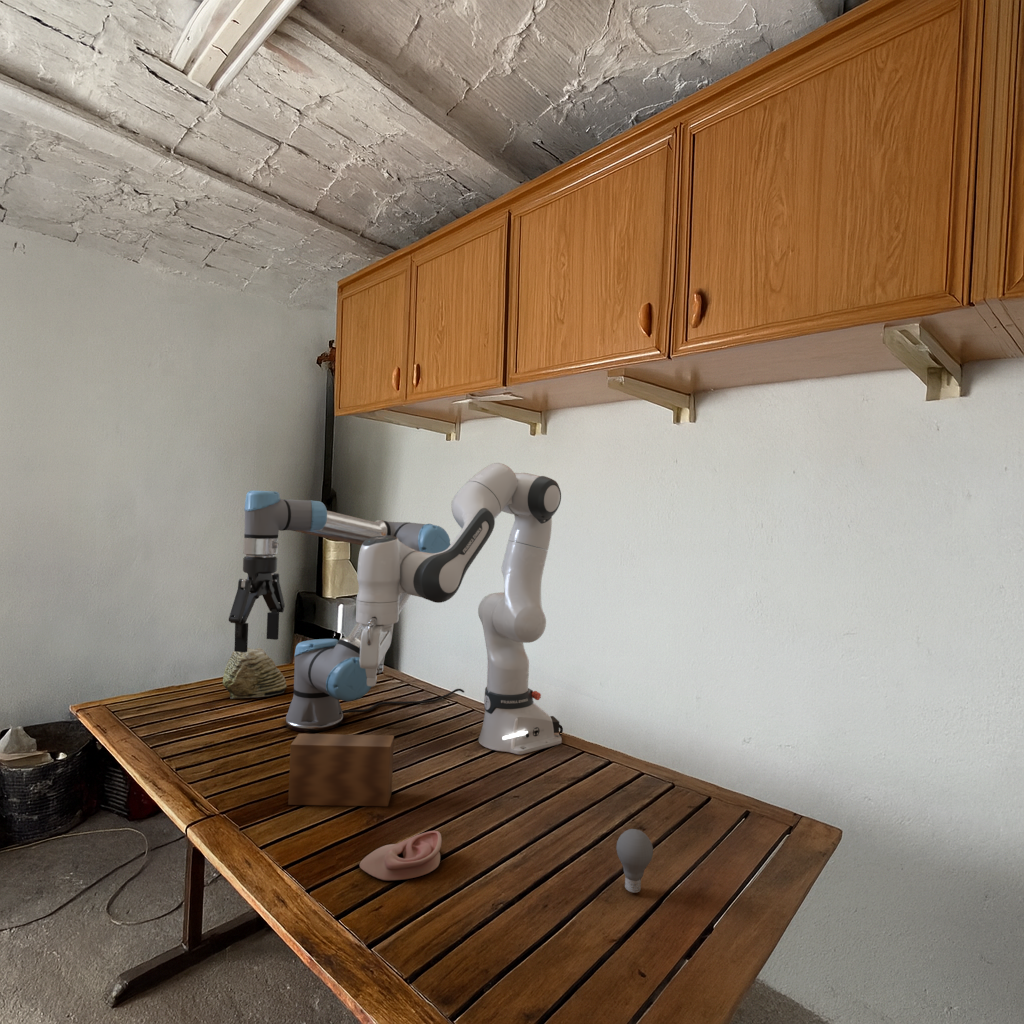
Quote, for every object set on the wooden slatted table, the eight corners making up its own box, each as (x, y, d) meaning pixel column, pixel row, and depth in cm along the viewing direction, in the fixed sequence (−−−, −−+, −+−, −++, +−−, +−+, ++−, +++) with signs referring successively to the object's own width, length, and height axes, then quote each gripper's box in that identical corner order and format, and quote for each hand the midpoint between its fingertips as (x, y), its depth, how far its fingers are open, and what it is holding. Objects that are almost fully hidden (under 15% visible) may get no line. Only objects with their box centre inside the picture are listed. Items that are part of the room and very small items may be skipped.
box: (288, 804, 130) (290, 744, 129) (296, 790, 136) (298, 733, 136) (387, 806, 131) (390, 746, 131) (391, 792, 137) (394, 735, 137)
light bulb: (610, 879, 108) (613, 822, 108) (644, 879, 109) (647, 822, 109) (619, 902, 102) (622, 840, 102) (655, 901, 103) (658, 840, 103)
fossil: (218, 695, 195) (220, 647, 195) (278, 685, 208) (279, 640, 207) (228, 703, 189) (230, 653, 188) (289, 692, 201) (290, 645, 201)
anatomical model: (352, 851, 106) (379, 818, 118) (351, 875, 106) (379, 839, 118) (427, 864, 104) (448, 829, 115) (426, 888, 104) (447, 850, 115)
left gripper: (245, 561, 137) (241, 659, 137) (300, 552, 161) (297, 635, 162) (213, 559, 138) (210, 656, 138) (273, 551, 163) (270, 633, 163)
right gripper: (385, 623, 123) (383, 694, 123) (398, 605, 143) (396, 666, 143) (352, 622, 122) (350, 693, 123) (370, 604, 143) (368, 665, 143)
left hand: (257, 645), depth 150 cm, fingers open, 13 cm apart
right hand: (375, 678), depth 133 cm, fingers open, 8 cm apart
